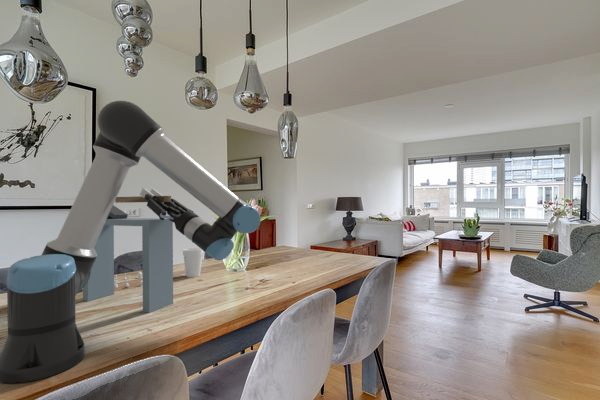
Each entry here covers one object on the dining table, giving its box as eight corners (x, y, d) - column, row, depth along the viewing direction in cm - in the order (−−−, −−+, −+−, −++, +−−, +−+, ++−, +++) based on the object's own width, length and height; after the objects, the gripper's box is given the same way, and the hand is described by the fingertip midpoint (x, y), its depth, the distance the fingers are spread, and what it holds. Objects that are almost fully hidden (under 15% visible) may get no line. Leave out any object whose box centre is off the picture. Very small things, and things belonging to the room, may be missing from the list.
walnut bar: (164, 201, 105) (164, 195, 105) (115, 202, 114) (115, 197, 114) (171, 201, 107) (171, 195, 107) (122, 202, 117) (122, 197, 117)
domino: (115, 215, 113) (98, 204, 117) (114, 219, 113) (97, 208, 117) (127, 214, 117) (111, 204, 121) (126, 218, 118) (110, 207, 121)
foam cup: (178, 277, 151) (178, 250, 151) (190, 273, 160) (190, 247, 160) (195, 278, 148) (195, 250, 148) (207, 274, 157) (206, 248, 157)
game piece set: (126, 277, 153) (126, 269, 153) (166, 278, 151) (166, 270, 151) (97, 288, 134) (97, 279, 134) (142, 289, 132) (142, 280, 132)
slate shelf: (149, 312, 102) (148, 220, 103) (82, 300, 116) (82, 219, 116) (173, 303, 112) (172, 218, 112) (109, 293, 125) (108, 217, 125)
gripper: (168, 238, 95) (121, 200, 103) (204, 233, 110) (161, 200, 118) (177, 217, 94) (129, 180, 102) (213, 215, 108) (168, 183, 117)
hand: (146, 191), depth 110 cm, fingers closed on walnut bar, 3 cm apart
